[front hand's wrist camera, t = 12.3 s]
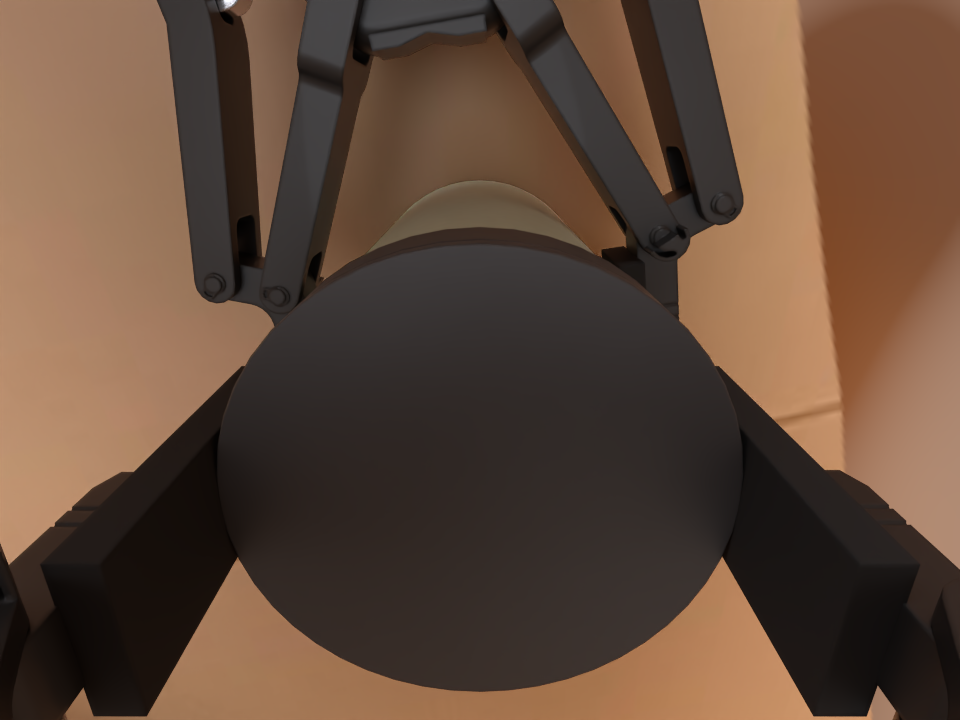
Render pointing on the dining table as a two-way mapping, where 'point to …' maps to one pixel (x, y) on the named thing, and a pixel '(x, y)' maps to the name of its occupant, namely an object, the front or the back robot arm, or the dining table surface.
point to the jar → (479, 213)
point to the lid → (479, 462)
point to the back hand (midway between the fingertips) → (499, 451)
